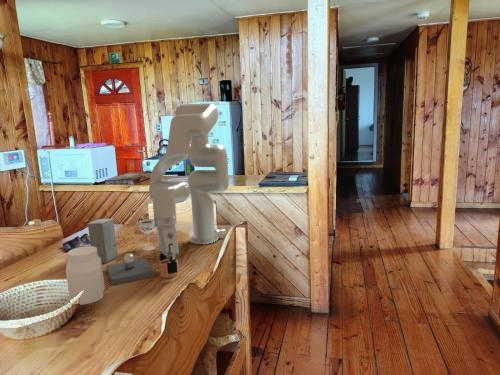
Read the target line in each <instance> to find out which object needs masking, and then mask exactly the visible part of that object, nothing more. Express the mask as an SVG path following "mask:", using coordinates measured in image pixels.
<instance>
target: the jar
mask: <svg viewBox="0 0 500 375" xmlns="http://www.w3.org/2000/svg"><path fill="white" fill-rule="evenodd" d="M67 256H68V261H67V264H66V266H65V275H66V282H67V290H68V298H69V300H71V299H73V298H74V297H76V296H77V295H78V294H79V293H80V292H81V291H83V290H84V293H83V295H82V297H81V299H80V306H81V305H89V304H92V303H96V302H98V301H101V300H103V299H104V291H105V281H104V273H103V266H102V264H103V263H102V261H101V258H100V257H99V256H98V254H97V248H96V247H93V246H91V245H84V247H78V248H75V249H72V250H70V251H69V252H67Z"/></svg>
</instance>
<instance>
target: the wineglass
mask: <svg viewBox="0 0 500 375" xmlns="http://www.w3.org/2000/svg"><path fill="white" fill-rule="evenodd" d="M138 223H139V224H138V228H139V231H140V232H142V233H144V234H146V236H147V244H148V246H145V247H143V248H142V250H144V251H153V250H155V249H156V247H155V246H152V245H151V246H150V233H152V232H153V231H154V230H156V227H155V226H154V218H146V219H145V218H143V219H141V220H139V221H138Z"/></svg>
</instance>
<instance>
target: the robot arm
mask: <svg viewBox="0 0 500 375" xmlns="http://www.w3.org/2000/svg"><path fill="white" fill-rule="evenodd" d="M218 118H219V110H218V108H217V106H216V105H215V104H213V103H188V104H187V103H186V104H181V105H178V106H176V107H175V115H174V116H173V117H172V118H171V120H170V125H169V133H168V137H167V138H168V140H167V146H166V152H165V153H164V155H163V156H162V157H161V158H160V159H159V160H158V161H157V162H156V164H155V165H154V167H153V169H152V171H151V172H150V178H149V179H150V180H149V188H148V194H149V197H150V199H151V200H152V212H153V219H154V226H155V229H156V231H157V232H156V234H157V248H158V250H159V262H160V261H162V260H164V259H167V260H168V263H167V269H168V274H172V273H177V260H178V259H177V255H179V253H180V251H179V243H178V242H179V241H178V235H177V234H178V232H177V228H176V226H177V224H178V221H177V208H176V206H177V205H176V204H181V203H184V202H185V201H187V200H188V199H189V197H190V199H191V213H192V231H193V235H192V236H191V237H190V239H189V241H190V243H191V244H194V245H201V244H203V245H210V244H209V243H211V244H213V242H214V243H216V242H218V241H219V240H218V239H219V238H220V236H219V235H223V234H224V235H225V234H226V229H220V228H219V229H216V228H215V227H216V226H215V225H216V224H215V209H214V206H215V204H214V200H213V197H212V195H211V194H210V193H223V192H226V191H227V190H228V188H229V182H230V181H229V167H228V166H229V164H228V163H229V162H228V153H227V150H226V148H225V147H224V146H223V145H222V144H210V141H209V134H210V132H211V131H212V130H213V128H214V127H215V125H216V124H217V121H218ZM187 159H189V162H190V164H191V166H193V167H195V168H214V169H196V170H192V171H191V172H189V174H188V176H187V183H186V182H185V181H178V180H177V181H175V180H174V181H172V180H169V181H168V180H163V178H164V176H165V174H166V172H168V170H169V169H171V168H172V167H174V166H177V165H178V164H180V163H182V162H184V161H186V160H187ZM217 240H218V241H217ZM215 241H216V242H215Z"/></svg>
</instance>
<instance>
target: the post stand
mask: <svg viewBox="0 0 500 375" xmlns="http://www.w3.org/2000/svg"><path fill="white" fill-rule="evenodd" d="M134 258H135V257H134V253H132V252H130V253H125V254H123V261H122V262H118V263H113V264H108V265H106V272H107V274H108V277H109V280H110V282H111V286H115V285H121V284H124V283H129V282H133V281H139V280H143V279H149V278H151V277H155V270H154V268H153V266H152V265H151V264H150V263H149V262H148V261H149V260H148V259H146V257H143V258H139V259H134Z"/></svg>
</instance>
